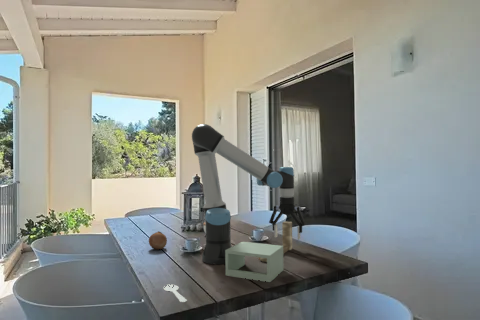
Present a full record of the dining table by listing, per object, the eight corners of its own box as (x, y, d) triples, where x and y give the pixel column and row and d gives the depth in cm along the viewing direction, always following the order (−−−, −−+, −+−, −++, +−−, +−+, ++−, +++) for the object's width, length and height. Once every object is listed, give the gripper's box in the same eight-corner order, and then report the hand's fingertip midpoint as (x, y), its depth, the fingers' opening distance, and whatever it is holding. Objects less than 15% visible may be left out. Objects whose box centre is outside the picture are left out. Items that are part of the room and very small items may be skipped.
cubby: (225, 275, 138) (225, 250, 138) (242, 264, 152) (242, 241, 152) (270, 282, 129) (269, 255, 129) (283, 269, 144) (283, 245, 144)
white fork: (176, 304, 111) (176, 303, 111) (160, 287, 127) (160, 285, 127) (192, 301, 114) (192, 299, 114) (174, 284, 129) (174, 282, 129)
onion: (158, 252, 184) (160, 234, 189) (169, 250, 179) (171, 231, 183) (143, 249, 177) (146, 231, 182) (155, 247, 172) (157, 228, 177)
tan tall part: (260, 261, 157) (259, 230, 157) (279, 247, 181) (279, 221, 181) (274, 262, 154) (274, 231, 154) (292, 248, 178) (292, 221, 178)
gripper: (311, 196, 176) (312, 238, 176) (267, 195, 186) (268, 234, 186) (307, 198, 169) (308, 241, 169) (262, 196, 179) (263, 237, 179)
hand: (287, 238), depth 177 cm, fingers open, 12 cm apart
